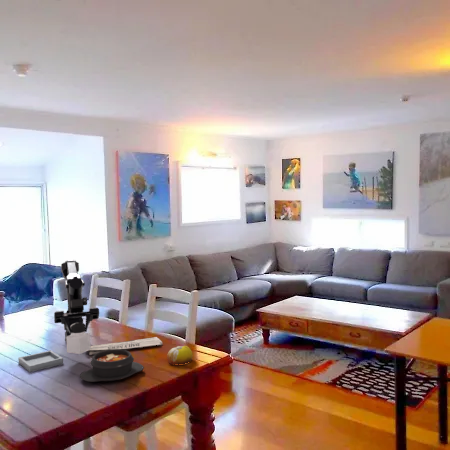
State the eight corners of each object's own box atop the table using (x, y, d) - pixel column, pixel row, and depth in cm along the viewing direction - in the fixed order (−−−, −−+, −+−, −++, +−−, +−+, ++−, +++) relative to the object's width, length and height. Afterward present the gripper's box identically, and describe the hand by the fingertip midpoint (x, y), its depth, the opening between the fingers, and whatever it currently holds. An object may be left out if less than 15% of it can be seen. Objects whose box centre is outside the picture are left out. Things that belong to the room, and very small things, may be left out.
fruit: (180, 354, 210) (184, 338, 208) (195, 366, 203) (199, 350, 201) (160, 360, 202) (163, 343, 200) (175, 373, 195) (178, 356, 193)
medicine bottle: (90, 349, 206) (89, 322, 205) (80, 354, 199) (79, 326, 198) (77, 347, 208) (76, 320, 207) (66, 352, 201) (65, 325, 201)
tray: (50, 355, 212) (50, 350, 212) (63, 363, 201) (63, 358, 201) (18, 363, 203) (18, 357, 202) (29, 372, 192) (29, 366, 192)
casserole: (88, 391, 172) (87, 369, 172) (74, 375, 188) (73, 355, 187) (151, 376, 186) (150, 355, 185) (133, 362, 201) (132, 343, 201)
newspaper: (156, 340, 234) (156, 333, 234) (163, 347, 223) (163, 340, 222) (83, 350, 220) (82, 343, 219) (87, 359, 208) (86, 351, 208)
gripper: (53, 293, 202) (55, 325, 192) (98, 289, 209) (101, 320, 199) (53, 307, 210) (55, 338, 200) (96, 303, 217) (100, 333, 207)
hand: (78, 332), depth 202 cm, fingers closed on medicine bottle, 6 cm apart
